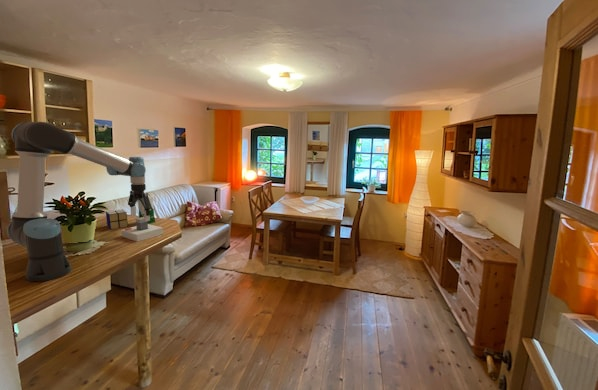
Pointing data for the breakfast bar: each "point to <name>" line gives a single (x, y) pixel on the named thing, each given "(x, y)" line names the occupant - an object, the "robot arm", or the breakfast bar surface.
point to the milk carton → (141, 209)
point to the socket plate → (141, 233)
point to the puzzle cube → (116, 219)
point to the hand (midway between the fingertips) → (140, 219)
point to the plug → (141, 224)
